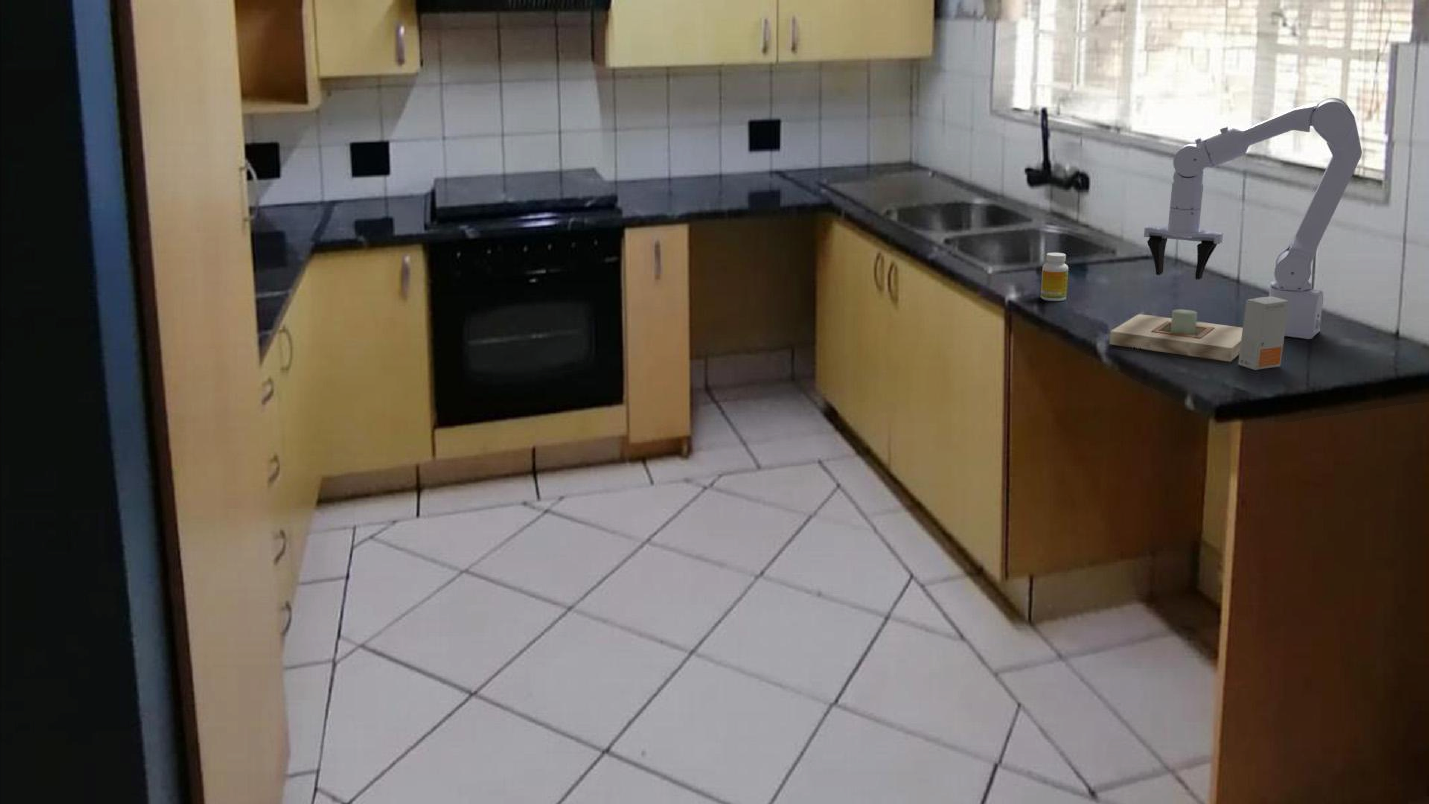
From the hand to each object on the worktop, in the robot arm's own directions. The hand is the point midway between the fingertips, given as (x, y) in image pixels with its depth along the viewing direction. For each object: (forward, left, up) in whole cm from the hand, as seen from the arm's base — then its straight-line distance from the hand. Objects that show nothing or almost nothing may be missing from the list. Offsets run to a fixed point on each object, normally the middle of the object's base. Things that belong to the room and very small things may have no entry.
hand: (1178, 276), depth 257 cm
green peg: (-6, +15, -10) cm, 18 cm away
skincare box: (-22, +23, -10) cm, 33 cm away
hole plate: (-6, +15, -9) cm, 19 cm away
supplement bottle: (+28, -7, -10) cm, 31 cm away
